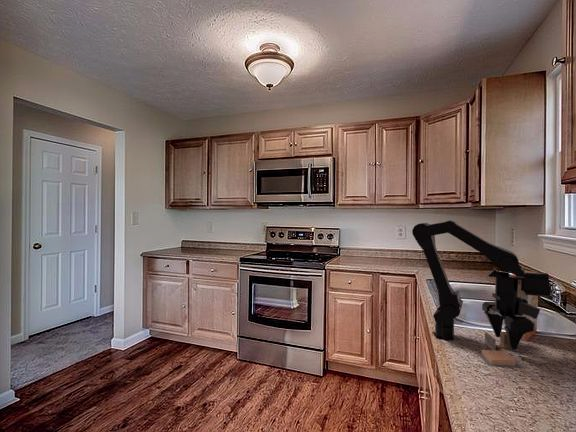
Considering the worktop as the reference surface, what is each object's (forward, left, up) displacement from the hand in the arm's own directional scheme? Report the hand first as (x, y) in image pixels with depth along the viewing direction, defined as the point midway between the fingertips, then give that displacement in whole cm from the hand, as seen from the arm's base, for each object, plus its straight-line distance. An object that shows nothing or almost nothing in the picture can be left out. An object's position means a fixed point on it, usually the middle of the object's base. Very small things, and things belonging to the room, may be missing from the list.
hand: (505, 342), depth 99 cm
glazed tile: (+9, -3, -1) cm, 10 cm away
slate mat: (+9, -6, -2) cm, 11 cm away
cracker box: (-13, +12, -2) cm, 17 cm away
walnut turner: (0, -2, -2) cm, 3 cm away
